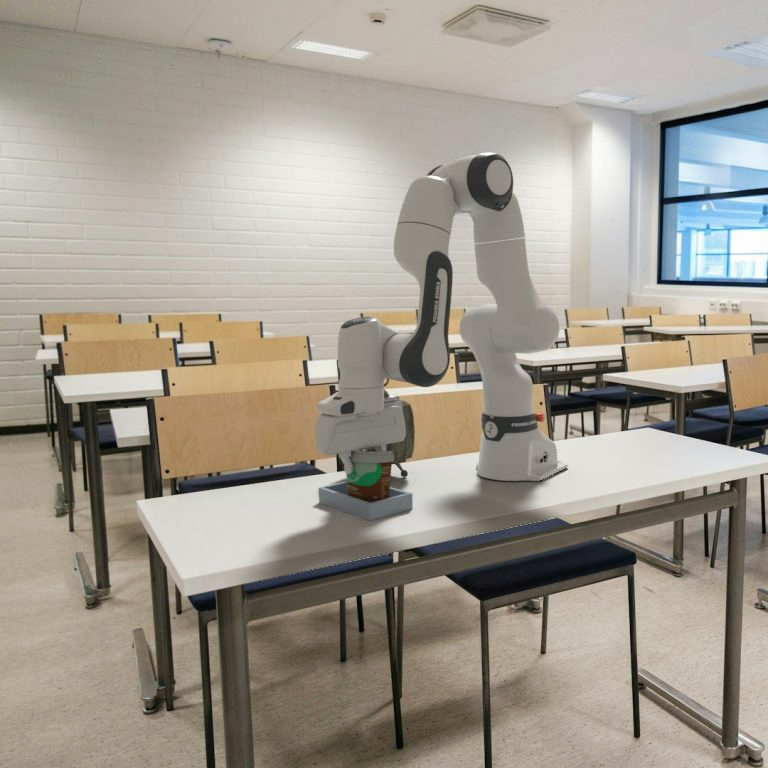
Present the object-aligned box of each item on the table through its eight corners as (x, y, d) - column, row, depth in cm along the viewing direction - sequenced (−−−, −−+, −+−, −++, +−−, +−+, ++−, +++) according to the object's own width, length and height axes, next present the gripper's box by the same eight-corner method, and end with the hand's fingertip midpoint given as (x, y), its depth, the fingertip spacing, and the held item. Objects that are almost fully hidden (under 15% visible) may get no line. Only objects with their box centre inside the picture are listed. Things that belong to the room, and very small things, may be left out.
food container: (328, 495, 140) (329, 446, 139) (351, 490, 144) (352, 442, 143) (370, 507, 131) (371, 454, 130) (393, 501, 135) (394, 450, 135)
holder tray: (360, 492, 148) (359, 478, 148) (412, 508, 135) (412, 493, 135) (319, 502, 141) (318, 487, 141) (370, 520, 129) (369, 504, 128)
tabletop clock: (415, 477, 160) (413, 368, 157) (388, 485, 153) (385, 372, 150) (371, 467, 170) (368, 365, 167) (344, 475, 163) (340, 369, 160)
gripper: (391, 393, 145) (393, 458, 146) (309, 405, 132) (312, 476, 134) (411, 396, 140) (413, 463, 142) (328, 408, 127) (331, 482, 129)
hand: (363, 469), depth 137 cm, fingers closed on food container, 5 cm apart
